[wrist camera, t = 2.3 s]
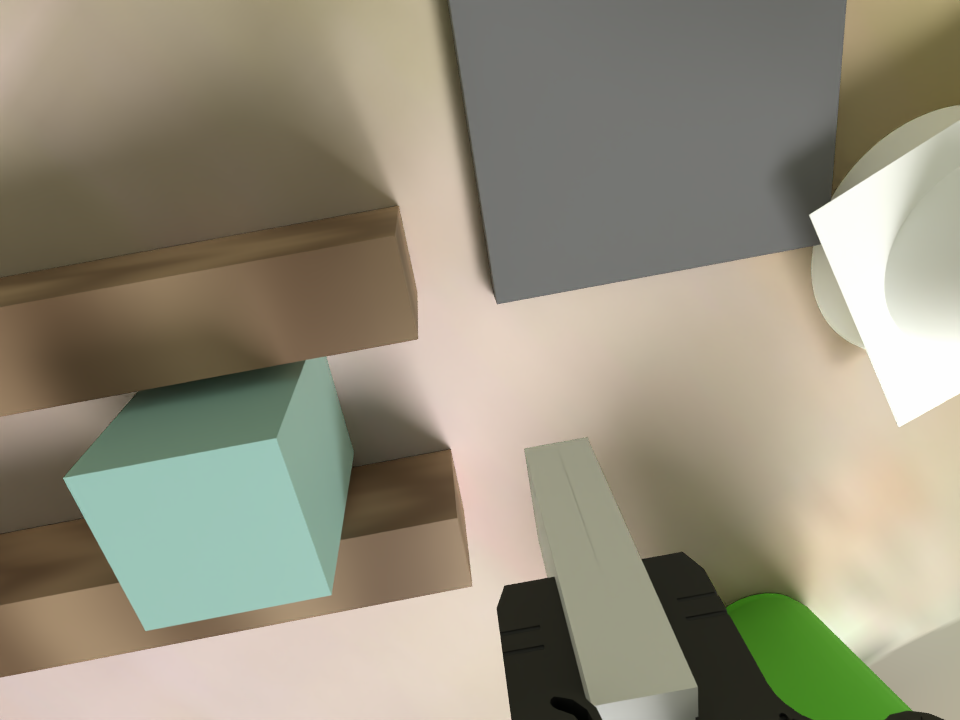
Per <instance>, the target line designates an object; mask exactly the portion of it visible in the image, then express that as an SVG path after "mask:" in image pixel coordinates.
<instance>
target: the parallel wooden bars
mask: <svg viewBox="0 0 960 720" xmlns="http://www.w3.org/2000/svg"><path fill="white" fill-rule="evenodd" d="M417 339H418V306H417V289H416V284H415V280H414V275H413V270H412V266H411V261H410V256H409V252H408V247H407V242H406V238H405V233H404V228H403V224H402V219H401V214H400V209H399V206H394V207H388V208H383V209H377V210H372V211H366V212H361V213H355V214H350V215H344V216H338V217H333V218H327V219H322V220H316V221H311V222H305V223H300V224H294V225H289V226H283V227H278V228H272V229H267V230H261V231H256V232H250V233H245V234H239V235H234V236H228V237H222V238H217V239H211V240H206V241H200V242H195V243H189V244H184V245H178V246H173V247H167V248H162V249H156V250H151V251H145V252H140V253H134V254H129V255H123V256H117V257H112V258H106V259H101V260H95V261H90V262H84V263H79V264H73V265H68V266H62V267H57V268H51V269H46V270H40V271H35V272H29V273H24V274H18V275H13V276H7V277H1V278H0V417H1V416H7V415H12V414H17V413H23V412H28V411H34V410H39V409H44V408H50V407H55V406H61V405H66V404H71V403H77V402H82V401H88V400H93V399H98V398H104V397H109V396H115V395H120V394H125V393H131V392H136V391H142V390H147V389H152V388H158V387H163V386H169V385H174V384H179V383H185V382H190V381H195V380H201V379H206V378H212V377H217V376H222V375H228V374H233V373H239V372H244V371H249V370H255V369H260V368H266V367H271V366H276V365H282V364H287V363H293V362H298V361H303V360H309V359H314V358H320V357H325V356H330V355H336V354H341V353H347V352H352V351H357V350H363V349H368V348H374V347H379V346H384V345H390V344H395V343H401V342H406V341H411V340H417ZM471 586H472V579H471V570H470V561H469V552H468V543H467V534H466V525H465V517H464V509H463V504H462V500H461V495H460V490H459V486H458V481H457V476H456V472H455V467H454V462H453V458H452V453H451V449H449V450H444V451H438V452H433V453H428V454H423V455H417V456H412V457H407V458H401V459H396V460H391V461H386V462H380V463H375V464H370V465H364V466H359V467H354V468H352V469H351V475H350V482H349V488H348V494H347V501H346V507H345V513H344V519H343V526H342V532H341V538H340V545H339V551H338V557H337V564H336V570H335V576H334V583H333V589H332V595H330V596H325V597H320V598H315V599H309V600H304V601H299V602H294V603H289V604H283V605H278V606H273V607H268V608H263V609H258V610H252V611H247V612H242V613H237V614H232V615H226V616H221V617H216V618H211V619H206V620H200V621H195V622H190V623H185V624H180V625H175V626H169V627H164V628H159V629H154V630H149V631H145V629H144V627H143V625H142V624H141V622H140V620H139V618H138V616H137V614H136V612H135V611H134V609H133V607H132V605H131V603H130V601H129V600H128V598H127V596H126V594H125V592H124V590H123V588H122V587H121V585H120V583H119V581H118V579H117V577H116V575H115V574H114V572H113V570H112V568H111V566H110V564H109V563H108V561H107V559H106V557H105V555H104V553H103V551H102V550H101V548H100V546H99V544H98V542H97V540H96V538H95V537H94V535H93V533H92V531H91V529H90V527H89V526H88V524H87V522H86V520H85V518H84V519H78V520H73V521H68V522H62V523H57V524H52V525H47V526H41V527H36V528H31V529H25V530H20V531H15V532H10V533H4V534H0V677H5V676H11V675H16V674H21V673H26V672H31V671H36V670H42V669H47V668H52V667H57V666H62V665H67V664H73V663H78V662H83V661H88V660H93V659H98V658H104V657H109V656H114V655H119V654H124V653H130V652H135V651H140V650H145V649H150V648H155V647H161V646H166V645H171V644H176V643H181V642H186V641H192V640H197V639H202V638H207V637H212V636H218V635H223V634H228V633H233V632H238V631H243V630H249V629H254V628H259V627H264V626H269V625H274V624H280V623H285V622H290V621H295V620H300V619H306V618H311V617H316V616H321V615H326V614H331V613H337V612H342V611H347V610H352V609H357V608H362V607H368V606H373V605H378V604H383V603H388V602H393V601H399V600H404V599H409V598H414V597H419V596H425V595H430V594H435V593H440V592H445V591H450V590H456V589H461V588H466V587H471Z"/></svg>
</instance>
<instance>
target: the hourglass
mask: <svg viewBox="0 0 960 720" xmlns="http://www.w3.org/2000/svg"><path fill="white" fill-rule="evenodd" d="M809 216H810V219H811V221H812V224H813V226H814V228H815V231H816V233H817V235H818V238H819V240H820V243H821V245H815V246H813V252H812V261H811V277H812V286H813V291H814V296H815V299H816V302H817V304H818V307H819V309H820V311H821V313H822V315H823V317H824V318H825V320H826V321H827V323H828V324H829V325H830V326H831V328H832V329H833V330H834V331H835V332H836V333H837V334H839V335H840V336H841V337H842V338H844V339H845V340H847V341H848V342H850V343H852V344H854V345H856V346H858V347H861V348H863V349H866V352H867V354H868V356H869V359H870V361H871V363H872V366H873V368H874V371H875V373H876V375H877V378H878V380H879V382H880V385H881V387H882V390H883V392H884V394H885V397H886V399H887V401H888V404H889V406H890V409H891V411H892V413H893V416H894V418H895V420H896V423H897V425H898V427H900V426H902V425H904V424H906V423H907V422H909V421H911V420H913V419H915V418H916V417H918V416H920V415H922V414H924V413H925V412H927V411H929V410H931V409H933V408H934V407H936V406H938V405H940V404H941V403H943V402H945V401H947V400H949V399H950V398H952V397H954V396H956V395H958V394H959V393H960V105H956V106H951V107H946V108H942V109H939V110H935V111H932V112H929V113H927V114H924V115H922V116H920V117H918V118H915V119H913V120H911V121H909V122H908V123H906V124H904V125H902V126H901V127H899V128H897V129H896V130H894V131H893V132H891V133H890V134H888V135H887V136H886V137H884V138H883V139H882V140H880V141H879V142H878V143H877V144H876V145H874V146H873V147H872V148H871V149H870V150H869V151H868V152H867V153H866V154H865V155H864V156H863V157H862V158H861V159H860V160H859V161H858V162H857V163H856V164H855V165H854V166H853V168H852V169H851V170H850V171H849V173H848V174H847V175H846V176H845V178H844V179H843V180H842V182H841V183H840V185H839V186H838V188H837V189H836V191H835V193H834V194H833V196H832V198H831V201H830V202H828V203H827V204H825V205H824V206H822V207H821V208H819V209H817V210H816V211H814V212H813V213H811V214H809Z"/></svg>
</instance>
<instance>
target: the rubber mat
mask: <svg viewBox="0 0 960 720" xmlns="http://www.w3.org/2000/svg"><path fill="white" fill-rule="evenodd" d="M447 1H448V7H449V14H450V20H451V26H452V32H453V39H454V45H455V51H456V58H457V64H458V70H459V77H460V83H461V89H462V96H463V102H464V108H465V114H466V121H467V127H468V133H469V140H470V146H471V152H472V159H473V165H474V171H475V177H476V184H477V190H478V196H479V203H480V209H481V215H482V222H483V228H484V234H485V241H486V247H487V253H488V259H489V266H490V272H491V278H492V285H493V291H494V297H495V300H496V302H497V304H501V303H507V302H512V301H517V300H523V299H528V298H534V297H539V296H544V295H550V294H555V293H561V292H566V291H572V290H577V289H582V288H588V287H593V286H599V285H604V284H609V283H615V282H620V281H626V280H631V279H637V278H642V277H647V276H653V275H658V274H664V273H669V272H674V271H680V270H685V269H691V268H696V267H702V266H707V265H712V264H718V263H723V262H729V261H734V260H739V259H745V258H750V257H756V256H761V255H767V254H772V253H777V252H783V251H788V250H794V249H799V248H804V247H810V246H815V245H821V243H820V240H819V238H818V235H817V233H816V231H815V228H814V226H813V224H812V221H811V219H810V216H809V214H811V213H813V212H814V211H816V210H817V209H819V208H821V207H822V206H824V205H825V204H827V203H828V202H830V201H831V193H832V180H833V167H834V155H835V142H836V129H837V116H838V104H839V91H840V78H841V65H842V53H843V40H844V27H845V14H846V2H847V0H447Z"/></svg>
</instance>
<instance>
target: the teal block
mask: <svg viewBox="0 0 960 720" xmlns="http://www.w3.org/2000/svg"><path fill="white" fill-rule="evenodd" d="M353 456H354V450H353V447H352V444H351V440H350V437H349V433H348V430H347V427H346V423H345V420H344V416H343V413H342V409H341V406H340V403H339V399H338V396H337V392H336V389H335V385H334V382H333V379H332V375H331V372H330V368H329V365H328V361H327V358H326V356H325V357H320V358H314V359H309V360H303V361H298V362H293V363H287V364H282V365H276V366H271V367H266V368H260V369H255V370H249V371H244V372H239V373H233V374H228V375H222V376H217V377H212V378H206V379H201V380H195V381H190V382H185V383H179V384H174V385H169V386H163V387H158V388H152V389H147V390H142V391H138V392H137V393H136V395H135V396H134V397H133V398H132V399H131V400H130V402H129V403H128V404H127V405H126V406H125V407H124V408H123V410H122V411H121V412H120V413H119V414H118V415H117V417H116V418H115V419H114V420H113V421H112V422H111V423H110V425H109V426H108V427H107V428H106V429H105V430H104V431H103V433H102V434H101V435H100V436H99V437H98V438H97V440H96V441H95V442H94V443H93V444H92V445H91V446H90V448H89V449H88V450H87V451H86V452H85V453H84V454H83V456H82V457H81V458H80V459H79V460H78V461H77V463H76V464H75V465H74V466H73V467H72V468H71V469H70V471H69V472H68V473H67V474H66V475H65V476H64V477H63V479H64V481H65V483H66V485H67V487H68V489H69V490H70V492H71V494H72V496H73V498H74V500H75V502H76V503H77V505H78V507H79V509H80V511H81V513H82V514H83V516H84V518H85V520H86V522H87V524H88V526H89V527H90V529H91V531H92V533H93V535H94V537H95V538H96V540H97V542H98V544H99V546H100V548H101V550H102V551H103V553H104V555H105V557H106V559H107V561H108V563H109V564H110V566H111V568H112V570H113V572H114V574H115V575H116V577H117V579H118V581H119V583H120V585H121V587H122V588H123V590H124V592H125V594H126V596H127V598H128V600H129V601H130V603H131V605H132V607H133V609H134V611H135V612H136V614H137V616H138V618H139V620H140V622H141V624H142V625H143V627H144V629H145V631H149V630H154V629H159V628H164V627H169V626H175V625H180V624H185V623H190V622H195V621H200V620H206V619H211V618H216V617H221V616H226V615H232V614H237V613H242V612H247V611H252V610H258V609H263V608H268V607H273V606H278V605H283V604H289V603H294V602H299V601H304V600H309V599H315V598H320V597H325V596H330V595H332V589H333V583H334V576H335V570H336V564H337V557H338V551H339V545H340V538H341V532H342V526H343V519H344V513H345V507H346V501H347V494H348V488H349V482H350V475H351V469H352V463H353Z"/></svg>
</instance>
